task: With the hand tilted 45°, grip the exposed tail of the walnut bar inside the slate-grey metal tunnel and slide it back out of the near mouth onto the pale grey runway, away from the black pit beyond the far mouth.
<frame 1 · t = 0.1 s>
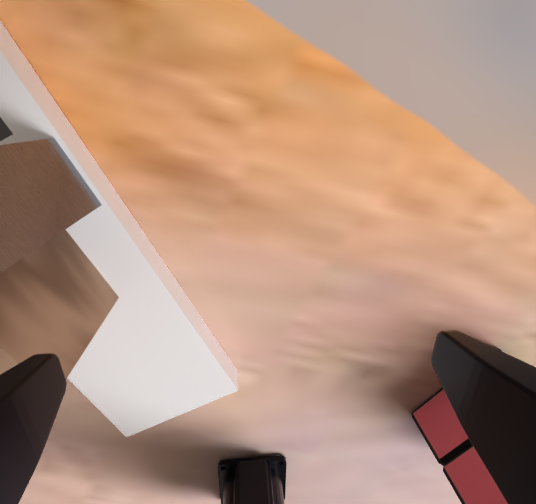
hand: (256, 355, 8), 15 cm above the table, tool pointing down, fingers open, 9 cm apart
puzzle cube: (478, 401, 31), on the table
walnut bar: (39, 246, 19), point 2 cm above the table, touching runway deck
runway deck: (76, 259, 22), on the table
tunnel: (29, 200, 20), resting on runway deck
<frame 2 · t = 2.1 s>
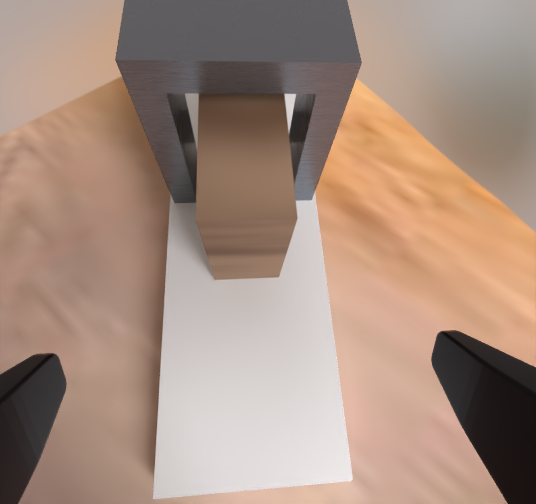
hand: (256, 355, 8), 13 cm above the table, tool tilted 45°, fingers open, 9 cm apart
walnut bar: (244, 208, 22), point 2 cm above the table, touching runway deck
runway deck: (245, 246, 23), on the table
tunnel: (243, 192, 25), resting on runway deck
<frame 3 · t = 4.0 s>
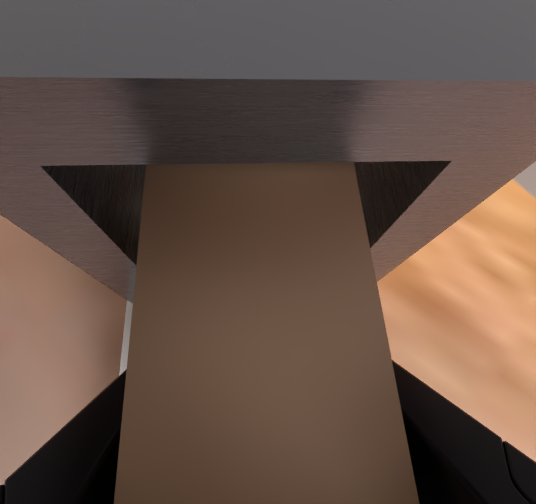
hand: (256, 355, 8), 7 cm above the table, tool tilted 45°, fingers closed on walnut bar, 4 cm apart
walnut bar: (250, 311, 13), point 2 cm above the table, touching gripper, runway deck
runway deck: (252, 365, 14), on the table
tunnel: (248, 269, 16), resting on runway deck
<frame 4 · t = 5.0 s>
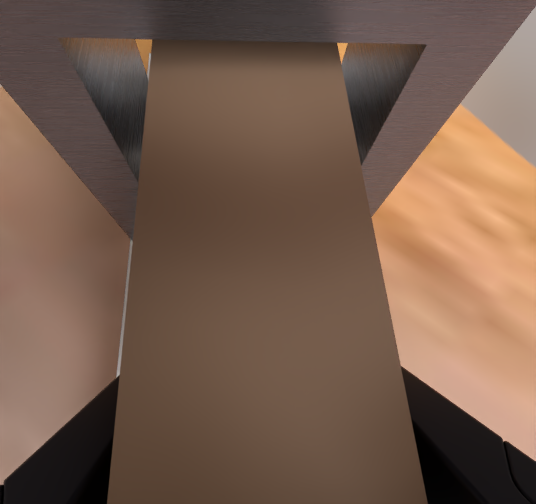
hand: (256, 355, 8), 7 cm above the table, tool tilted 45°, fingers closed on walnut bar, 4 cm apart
walnut bar: (250, 305, 13), point 2 cm above the table, touching gripper
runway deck: (250, 309, 15), on the table
tunnel: (246, 222, 17), resting on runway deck
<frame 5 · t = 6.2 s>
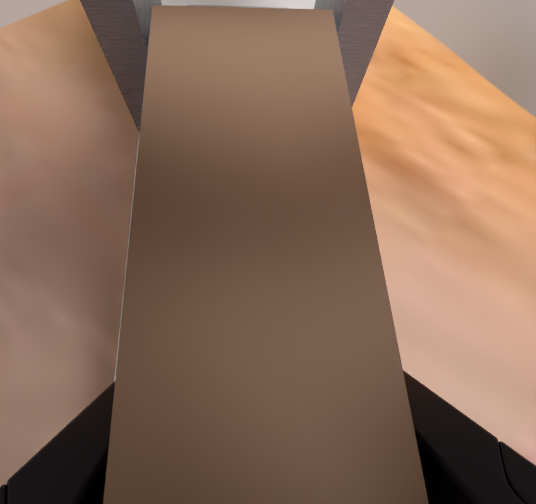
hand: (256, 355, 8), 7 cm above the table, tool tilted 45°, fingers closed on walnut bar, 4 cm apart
walnut bar: (250, 303, 13), point 2 cm above the table, touching gripper, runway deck
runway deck: (245, 208, 17), on the table
tunnel: (242, 137, 18), resting on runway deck
when the fingers open (7 cm above the table, at t = 6.4 s): walnut bar stays where it is, resting on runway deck.
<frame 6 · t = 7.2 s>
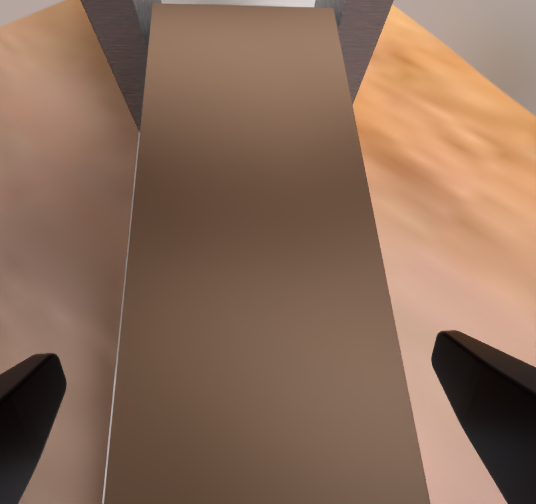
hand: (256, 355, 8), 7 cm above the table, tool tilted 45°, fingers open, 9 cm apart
walnut bar: (250, 302, 13), point 2 cm above the table, touching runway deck
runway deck: (245, 207, 17), on the table
tunnel: (242, 136, 18), resting on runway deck
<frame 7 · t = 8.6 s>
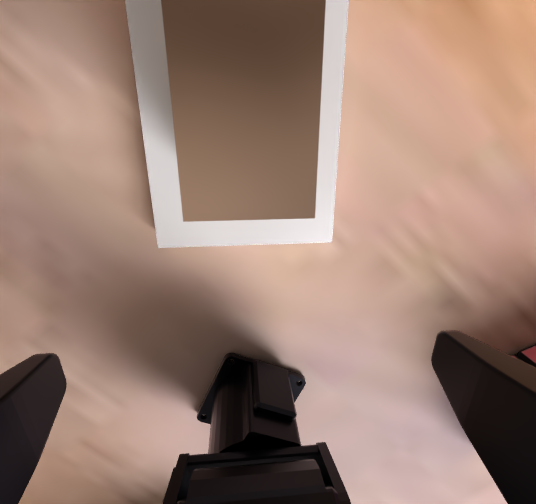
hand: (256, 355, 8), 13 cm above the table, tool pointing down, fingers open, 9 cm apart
walnut bar: (242, 76, 15), point 2 cm above the table, touching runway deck
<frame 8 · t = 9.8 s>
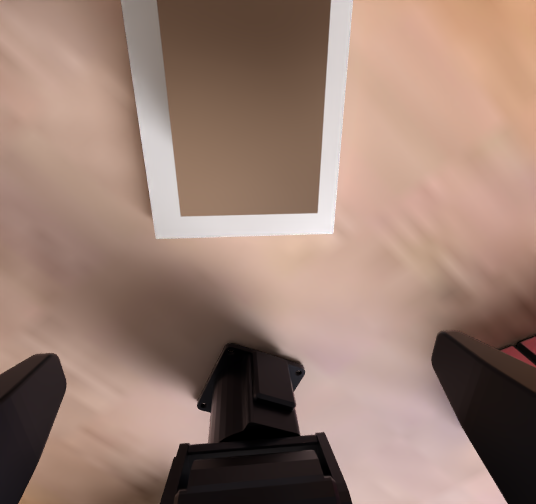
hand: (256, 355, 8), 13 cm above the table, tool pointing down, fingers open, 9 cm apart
puzzle cube: (518, 380, 28), on the table
walnut bar: (241, 59, 15), point 2 cm above the table, touching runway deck
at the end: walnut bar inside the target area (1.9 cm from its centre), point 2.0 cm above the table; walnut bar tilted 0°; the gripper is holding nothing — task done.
